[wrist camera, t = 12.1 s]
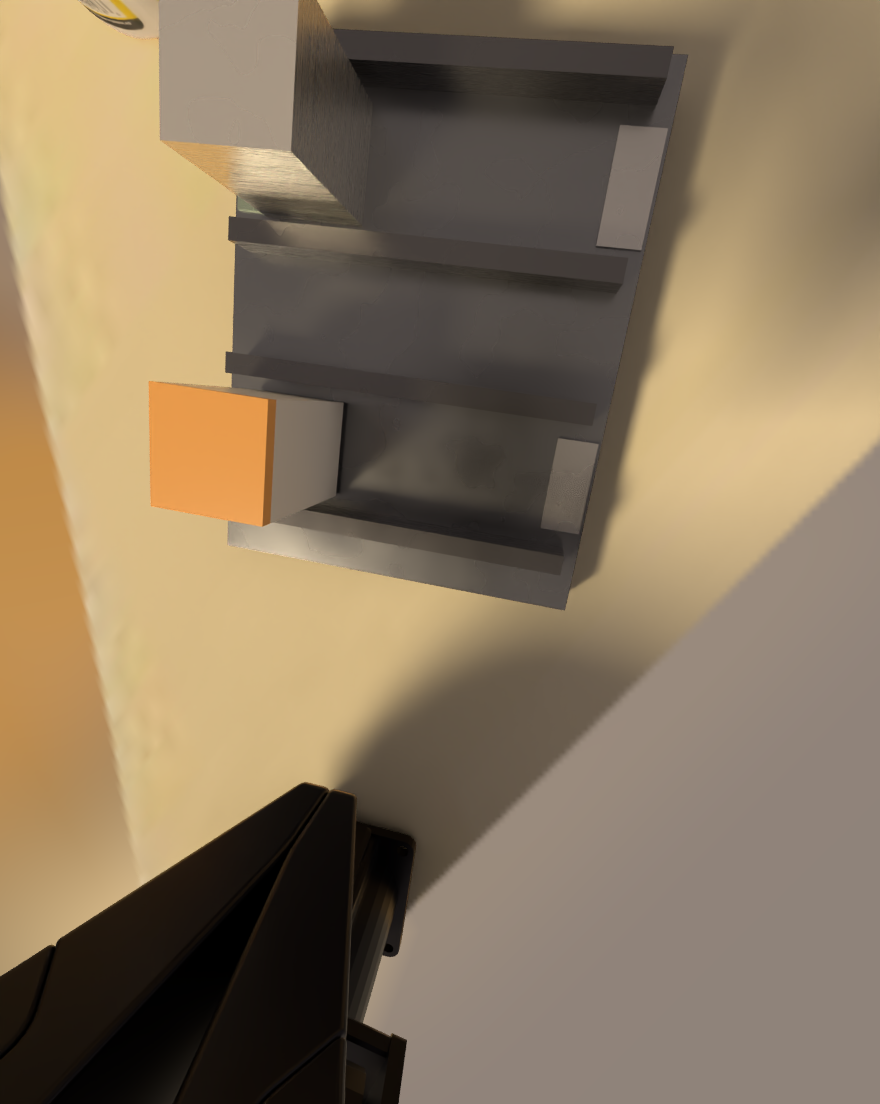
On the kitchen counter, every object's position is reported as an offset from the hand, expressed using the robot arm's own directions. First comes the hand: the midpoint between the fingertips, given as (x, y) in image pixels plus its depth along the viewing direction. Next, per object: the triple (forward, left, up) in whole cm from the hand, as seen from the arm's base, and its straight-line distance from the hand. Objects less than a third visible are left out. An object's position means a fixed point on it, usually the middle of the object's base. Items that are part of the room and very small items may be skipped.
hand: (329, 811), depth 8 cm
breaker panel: (+7, +2, -12) cm, 14 cm away
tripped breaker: (+4, +6, -10) cm, 12 cm away
